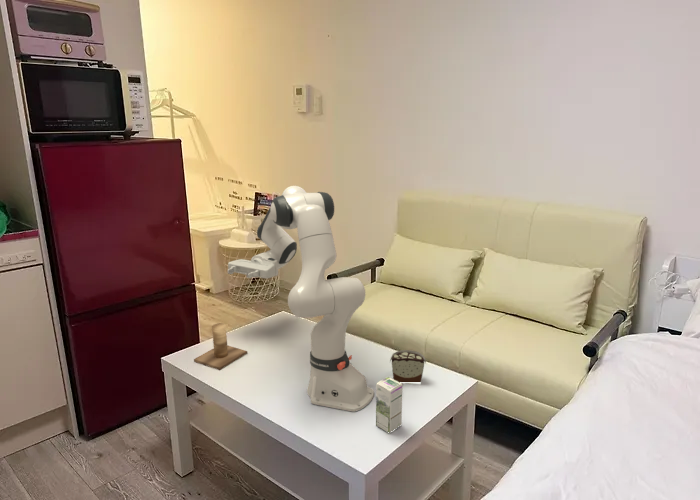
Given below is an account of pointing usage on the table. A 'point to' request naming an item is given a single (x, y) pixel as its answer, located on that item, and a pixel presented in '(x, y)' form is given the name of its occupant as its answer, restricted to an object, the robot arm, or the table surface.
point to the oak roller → (220, 340)
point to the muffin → (407, 366)
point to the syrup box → (388, 404)
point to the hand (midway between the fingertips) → (238, 274)
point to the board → (220, 363)
